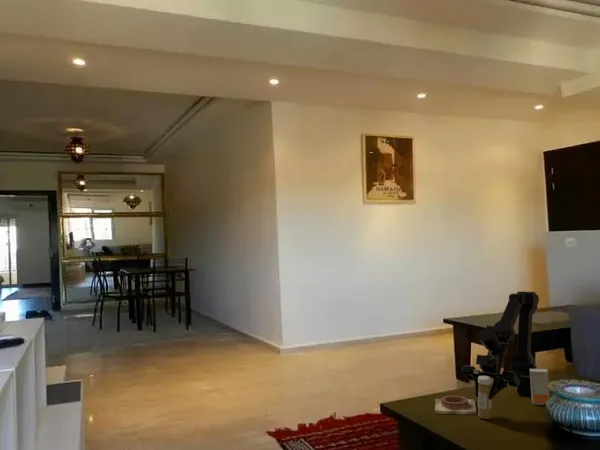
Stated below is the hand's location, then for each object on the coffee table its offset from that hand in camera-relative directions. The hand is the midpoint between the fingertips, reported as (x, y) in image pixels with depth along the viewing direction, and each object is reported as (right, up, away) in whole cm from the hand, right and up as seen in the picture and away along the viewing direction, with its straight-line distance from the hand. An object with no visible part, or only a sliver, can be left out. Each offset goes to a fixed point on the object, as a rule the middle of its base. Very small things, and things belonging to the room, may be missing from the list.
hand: (483, 397), depth 177 cm
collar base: (-5, -8, +14) cm, 17 cm away
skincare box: (+25, -6, +13) cm, 29 cm away
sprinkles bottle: (+1, -7, +1) cm, 7 cm away
